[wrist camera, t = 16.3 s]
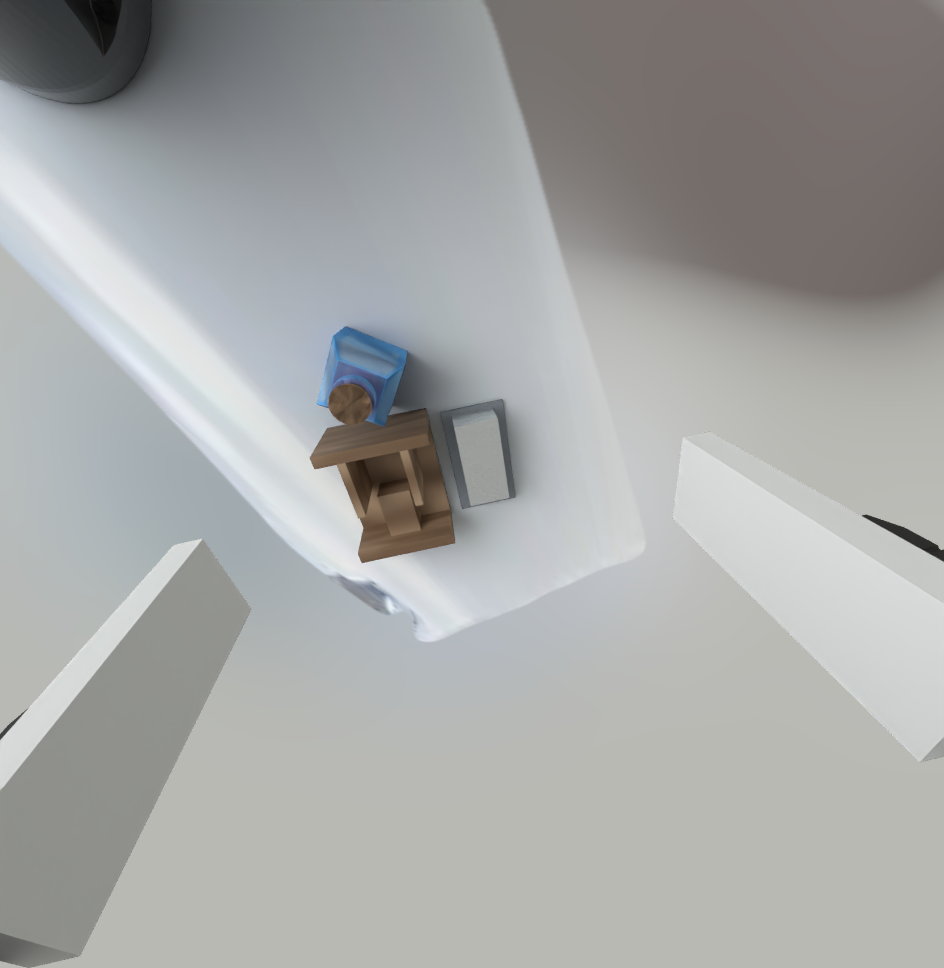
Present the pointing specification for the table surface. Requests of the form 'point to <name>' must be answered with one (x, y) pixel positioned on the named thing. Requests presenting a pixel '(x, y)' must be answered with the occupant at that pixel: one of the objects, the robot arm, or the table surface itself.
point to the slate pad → (455, 453)
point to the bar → (481, 455)
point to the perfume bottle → (361, 377)
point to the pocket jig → (391, 483)
